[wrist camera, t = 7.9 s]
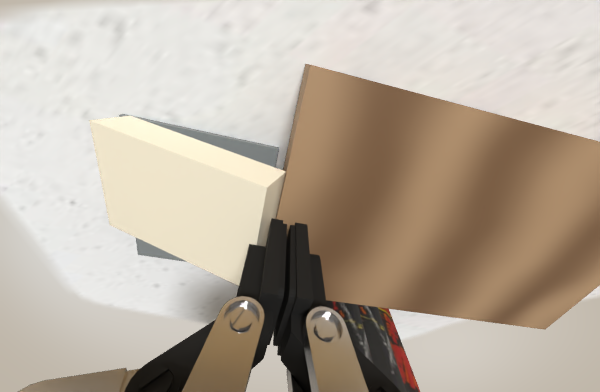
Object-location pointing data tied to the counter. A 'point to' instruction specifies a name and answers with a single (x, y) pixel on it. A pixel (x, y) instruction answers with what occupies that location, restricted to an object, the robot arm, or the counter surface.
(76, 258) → the counter surface
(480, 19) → the counter surface
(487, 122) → the wood grain slab
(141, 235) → the cream foam block
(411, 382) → the deodorant
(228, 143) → the mat
